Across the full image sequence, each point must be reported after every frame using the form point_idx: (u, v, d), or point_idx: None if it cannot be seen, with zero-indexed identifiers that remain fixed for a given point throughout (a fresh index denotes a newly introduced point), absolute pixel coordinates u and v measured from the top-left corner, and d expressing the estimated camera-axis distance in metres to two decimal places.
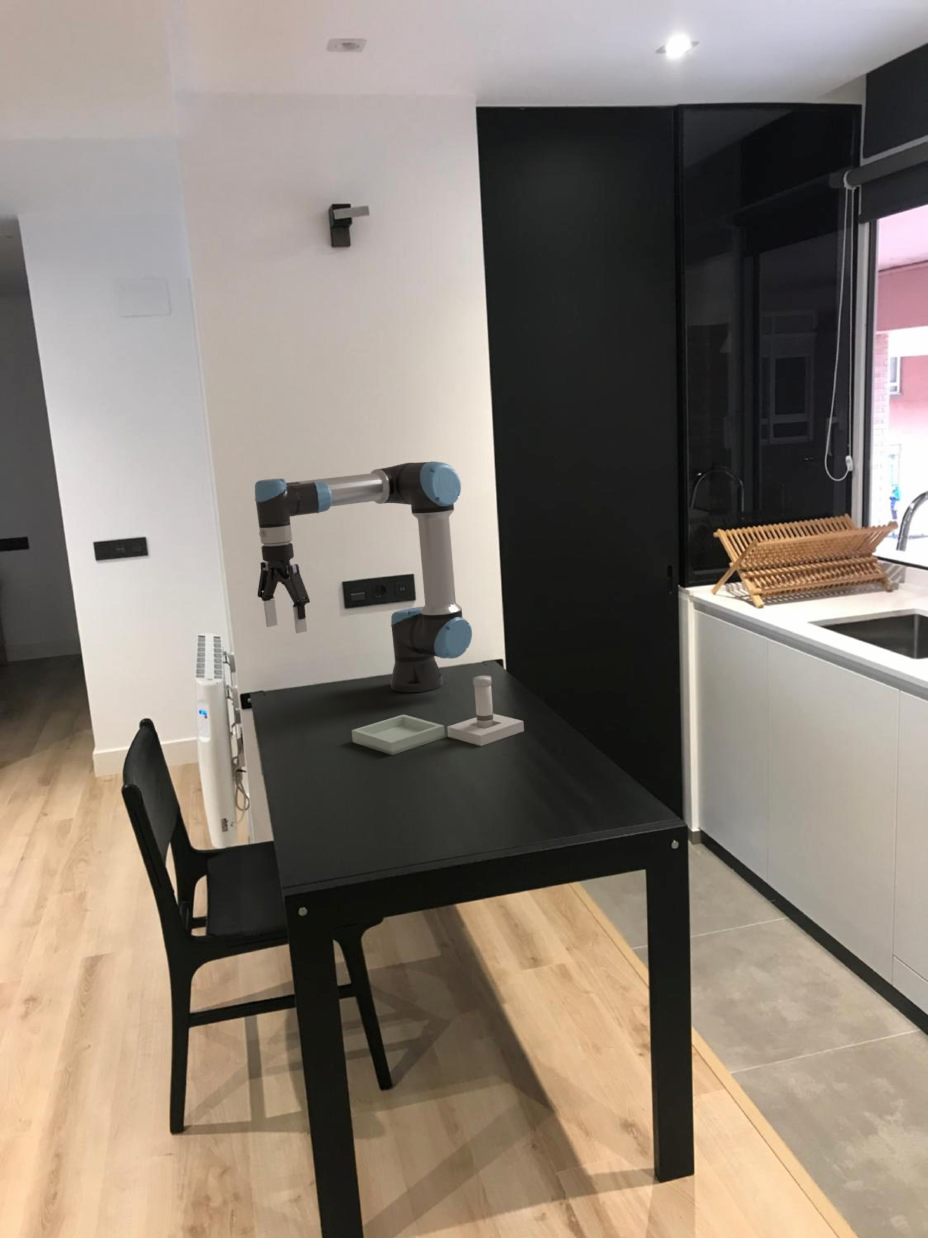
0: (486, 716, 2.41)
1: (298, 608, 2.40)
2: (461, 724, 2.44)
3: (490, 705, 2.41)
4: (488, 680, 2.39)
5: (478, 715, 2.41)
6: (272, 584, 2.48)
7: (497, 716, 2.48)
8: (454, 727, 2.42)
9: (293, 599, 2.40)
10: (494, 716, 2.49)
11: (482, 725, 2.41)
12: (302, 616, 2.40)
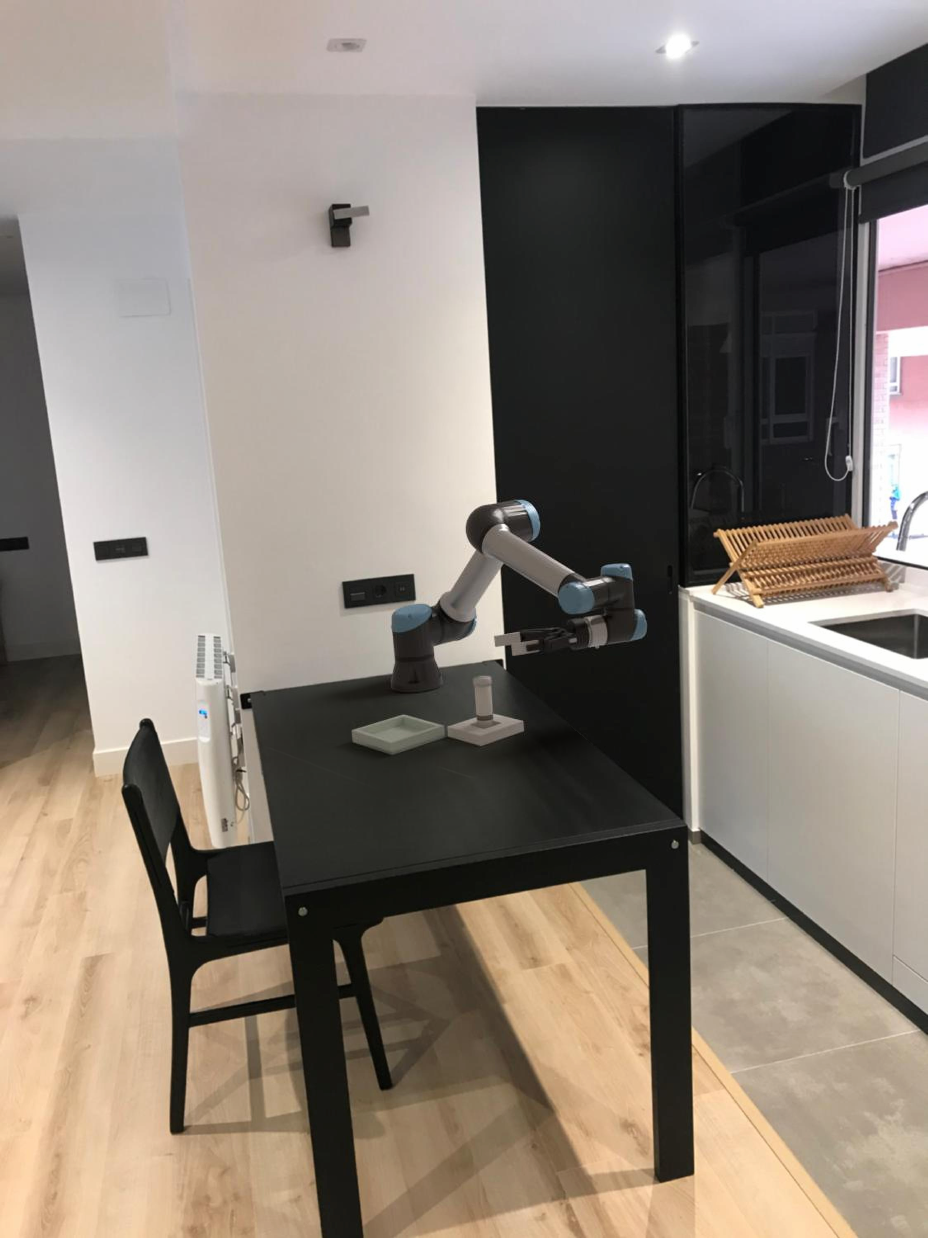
0: (486, 716, 2.41)
1: None
2: (461, 724, 2.44)
3: (490, 705, 2.41)
4: (488, 680, 2.39)
5: (478, 715, 2.41)
6: None
7: (497, 716, 2.48)
8: (454, 727, 2.42)
9: None
10: (494, 716, 2.49)
11: (482, 725, 2.41)
12: None
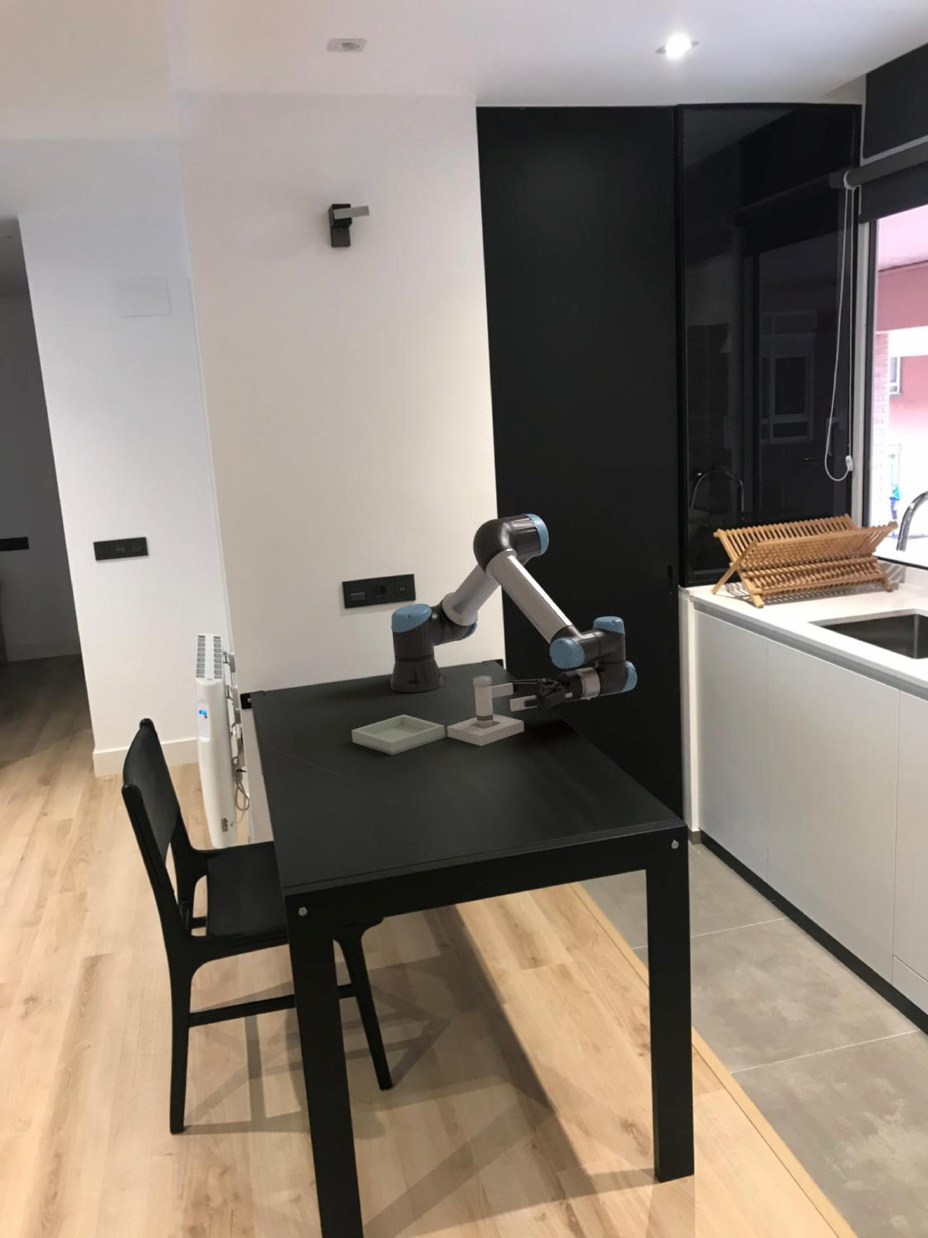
0: (486, 716, 2.41)
1: None
2: (461, 724, 2.44)
3: (490, 705, 2.41)
4: (488, 680, 2.39)
5: (478, 715, 2.41)
6: None
7: (497, 716, 2.48)
8: (454, 727, 2.42)
9: None
10: (494, 716, 2.49)
11: (482, 725, 2.41)
12: None
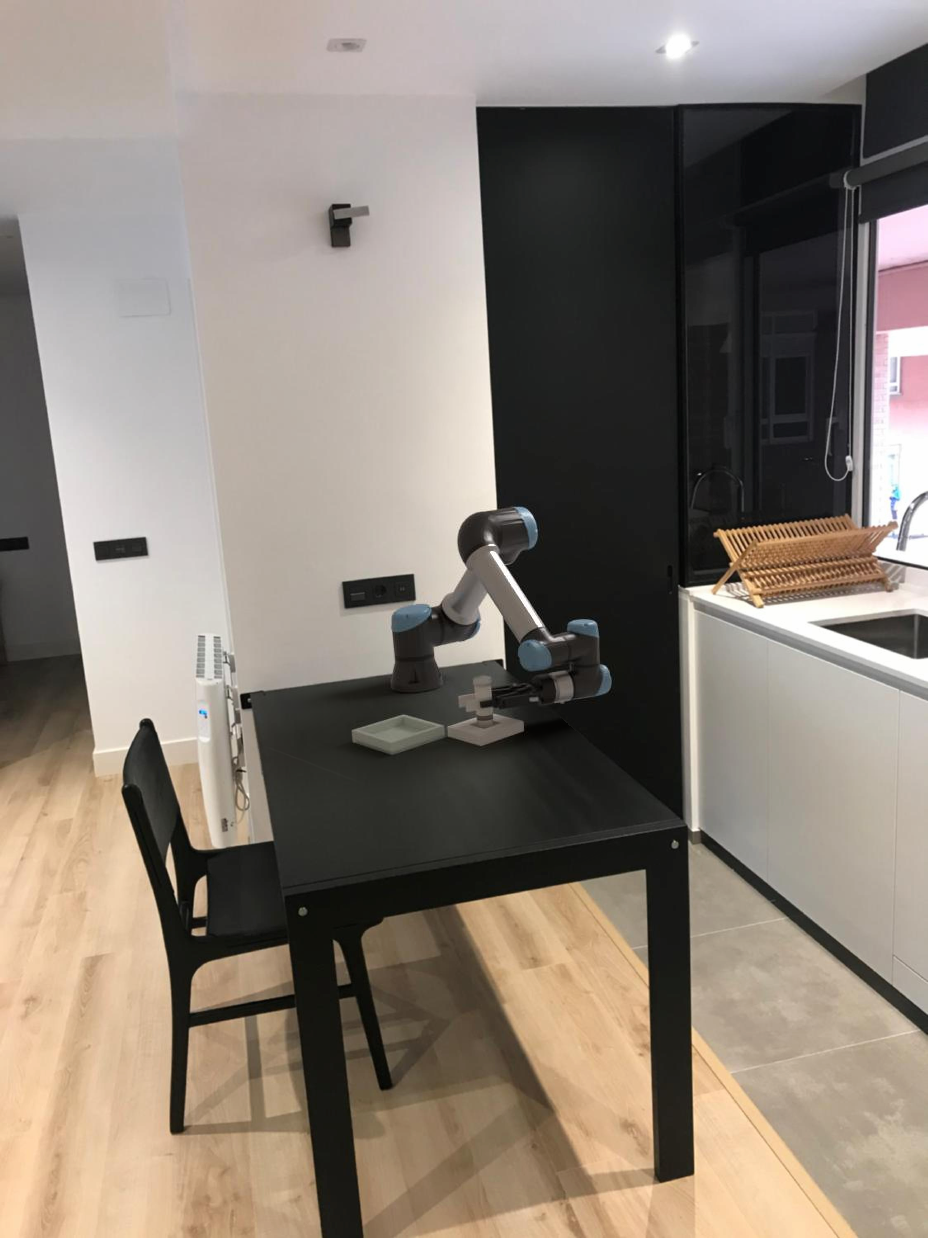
0: (486, 716, 2.41)
1: None
2: (461, 724, 2.44)
3: None
4: (488, 680, 2.39)
5: (478, 715, 2.41)
6: None
7: (497, 716, 2.48)
8: (454, 727, 2.42)
9: None
10: (494, 716, 2.49)
11: (482, 725, 2.41)
12: None
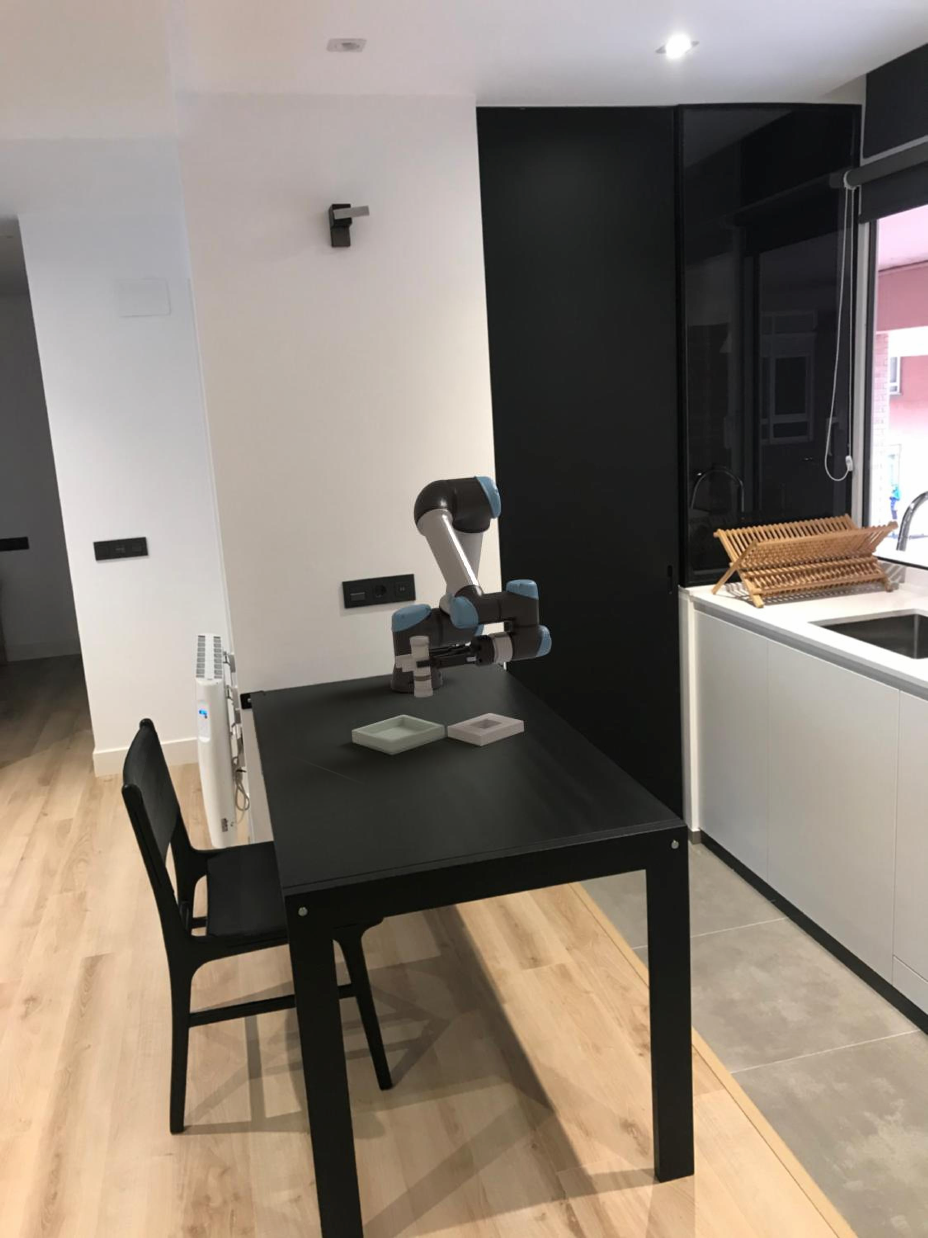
0: (424, 676, 2.37)
1: None
2: (461, 724, 2.44)
3: None
4: (425, 640, 2.36)
5: (415, 675, 2.38)
6: None
7: (497, 716, 2.48)
8: (454, 727, 2.42)
9: None
10: (494, 716, 2.49)
11: (419, 685, 2.38)
12: None
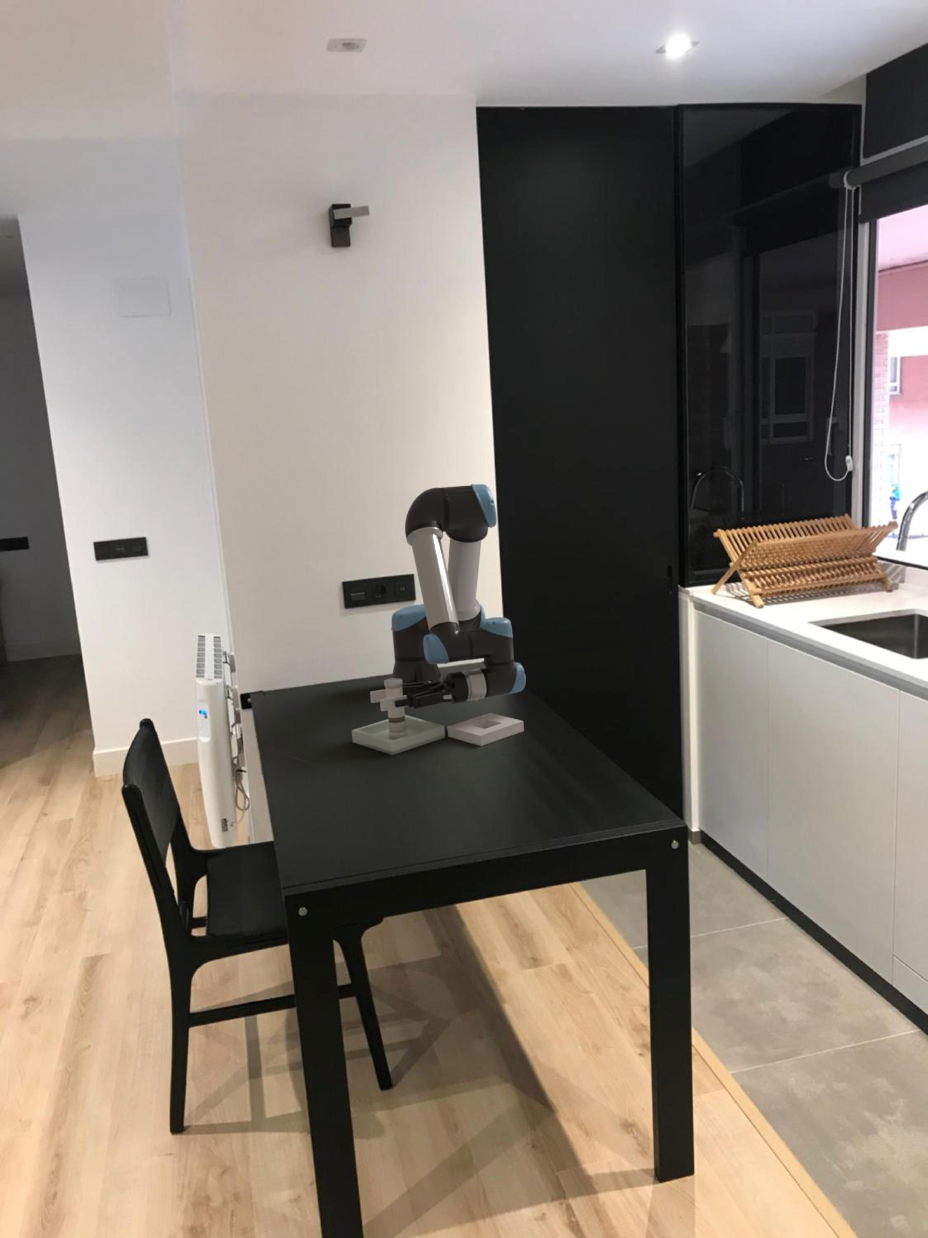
0: (398, 718, 2.41)
1: None
2: (461, 724, 2.44)
3: None
4: (398, 682, 2.40)
5: (389, 717, 2.42)
6: None
7: (497, 716, 2.48)
8: (454, 727, 2.42)
9: None
10: (494, 716, 2.49)
11: (393, 727, 2.42)
12: None
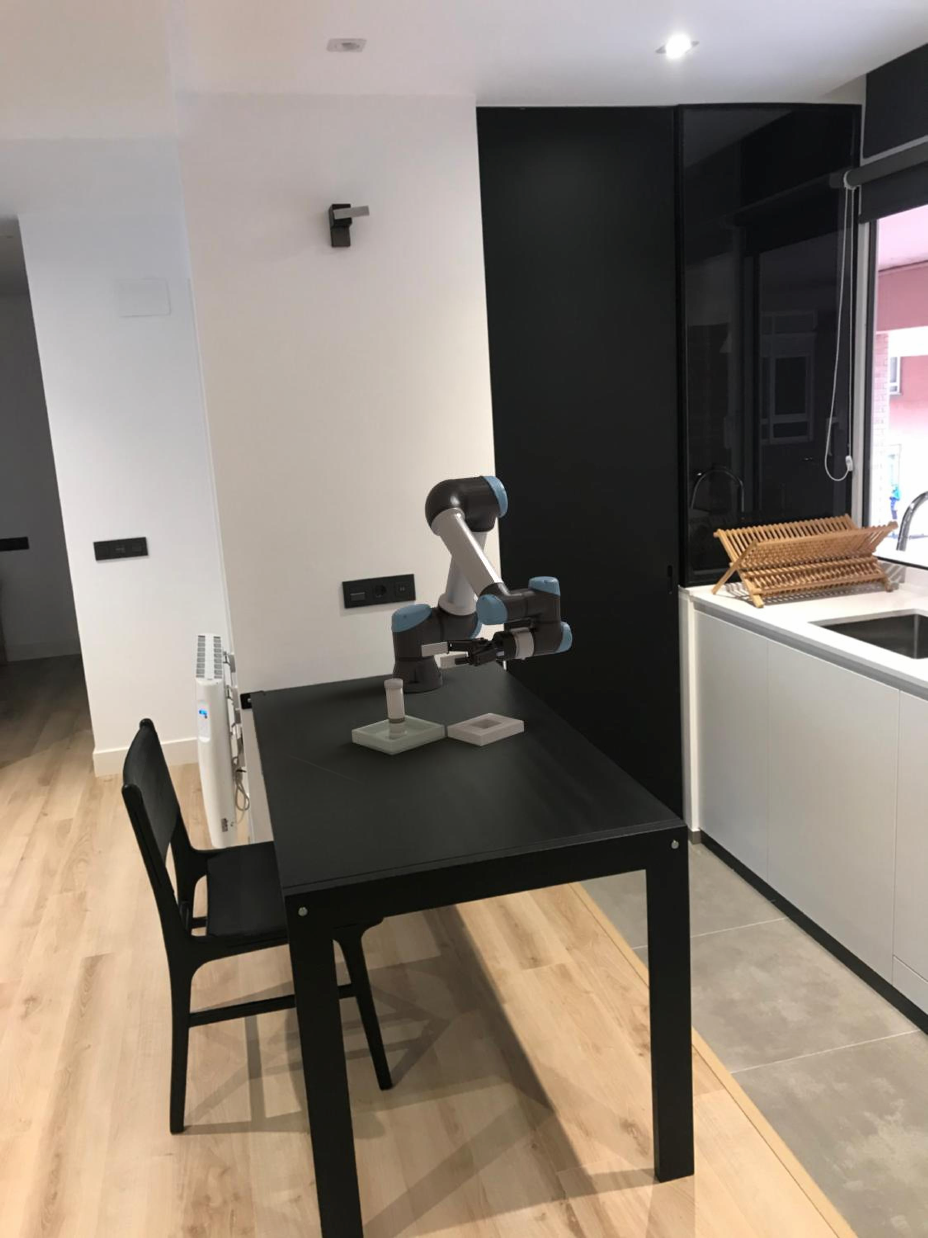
0: (398, 718, 2.41)
1: None
2: (461, 724, 2.44)
3: (401, 708, 2.41)
4: (399, 683, 2.40)
5: (390, 718, 2.42)
6: None
7: (497, 716, 2.48)
8: (454, 727, 2.42)
9: None
10: (494, 716, 2.49)
11: (393, 728, 2.41)
12: None
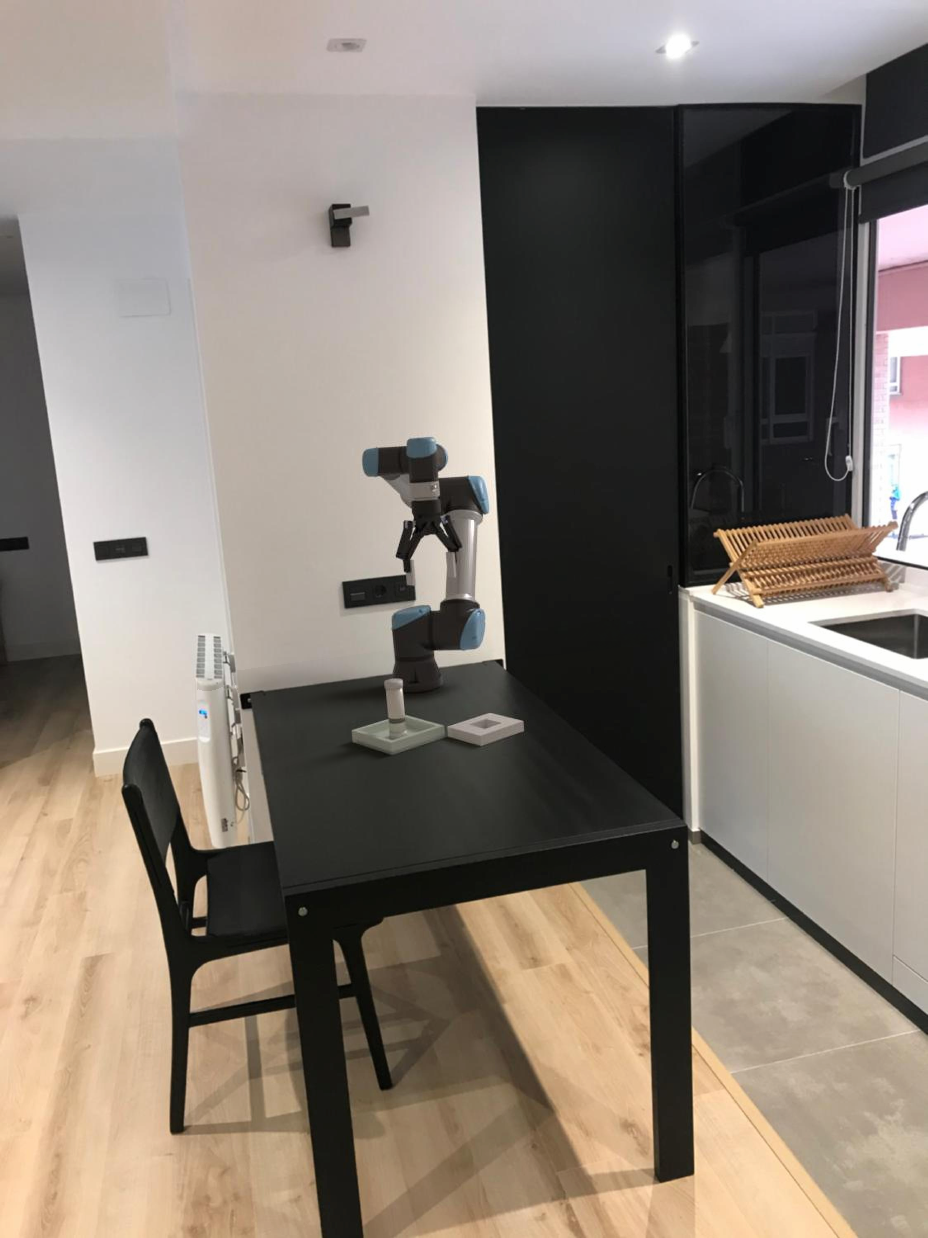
0: (398, 719, 2.41)
1: (454, 553, 2.63)
2: (461, 724, 2.44)
3: (401, 708, 2.41)
4: (399, 683, 2.40)
5: (390, 718, 2.42)
6: None
7: (497, 716, 2.48)
8: (454, 727, 2.42)
9: (452, 545, 2.62)
10: (494, 716, 2.49)
11: (393, 728, 2.41)
12: None
